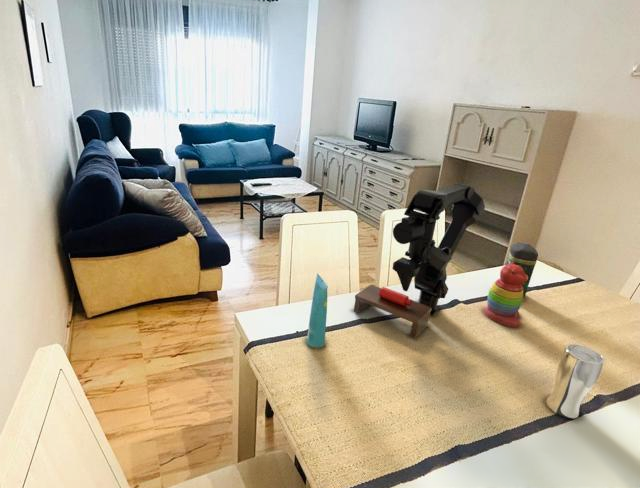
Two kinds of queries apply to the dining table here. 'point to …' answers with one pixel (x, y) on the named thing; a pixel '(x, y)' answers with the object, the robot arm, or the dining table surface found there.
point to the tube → (318, 314)
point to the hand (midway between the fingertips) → (412, 285)
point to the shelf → (394, 308)
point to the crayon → (395, 297)
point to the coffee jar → (523, 260)
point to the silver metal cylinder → (574, 379)
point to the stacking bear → (506, 296)
